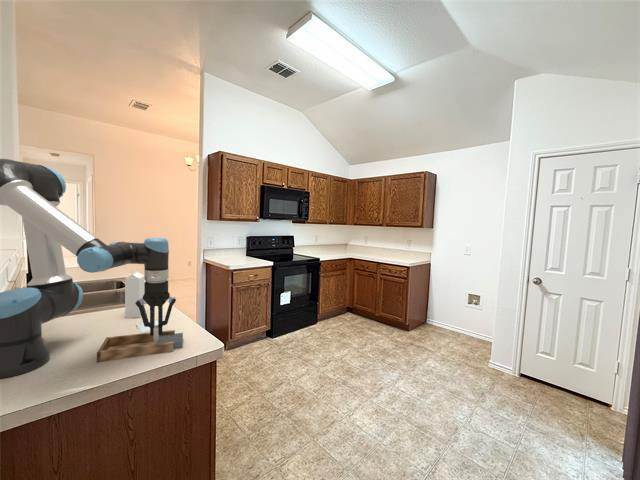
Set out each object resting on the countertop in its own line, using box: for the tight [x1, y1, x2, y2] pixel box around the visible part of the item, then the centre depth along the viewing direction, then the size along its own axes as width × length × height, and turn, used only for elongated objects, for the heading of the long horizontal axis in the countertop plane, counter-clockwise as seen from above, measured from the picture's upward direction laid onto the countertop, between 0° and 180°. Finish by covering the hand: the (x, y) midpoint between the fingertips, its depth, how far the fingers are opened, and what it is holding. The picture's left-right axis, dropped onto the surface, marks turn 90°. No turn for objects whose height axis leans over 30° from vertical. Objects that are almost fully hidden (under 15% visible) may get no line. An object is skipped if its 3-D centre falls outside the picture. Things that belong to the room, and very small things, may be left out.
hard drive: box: [135, 319, 165, 334], centre depth 121 cm, size 2×8×12 cm
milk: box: [124, 269, 145, 319], centre depth 133 cm, size 6×6×22 cm
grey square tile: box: [158, 332, 184, 350], centre depth 105 cm, size 8×8×2 cm
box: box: [96, 329, 176, 363], centre depth 101 cm, size 22×12×4 cm, turn 115°
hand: (156, 343), depth 103 cm, fingers closed
